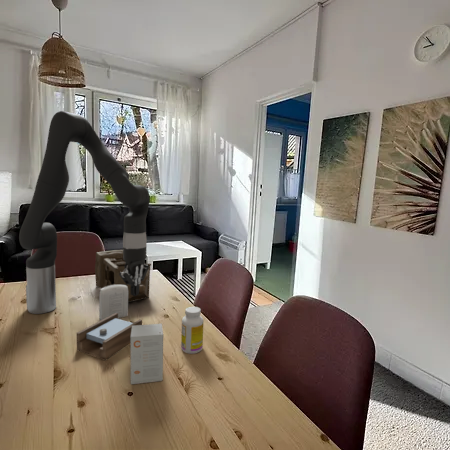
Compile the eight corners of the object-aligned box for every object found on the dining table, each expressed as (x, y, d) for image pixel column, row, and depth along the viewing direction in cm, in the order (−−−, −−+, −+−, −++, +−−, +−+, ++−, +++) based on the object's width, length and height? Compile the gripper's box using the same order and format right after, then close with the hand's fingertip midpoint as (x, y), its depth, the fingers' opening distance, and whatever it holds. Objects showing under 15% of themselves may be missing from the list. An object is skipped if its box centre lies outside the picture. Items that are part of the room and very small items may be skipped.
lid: (86, 338, 92) (86, 330, 92) (115, 322, 103) (115, 315, 103) (107, 345, 89) (107, 337, 88) (135, 328, 100) (135, 320, 99)
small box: (161, 366, 85) (162, 322, 83) (162, 381, 79) (163, 334, 77) (131, 369, 83) (131, 324, 81) (130, 385, 77) (130, 336, 75)
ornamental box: (159, 311, 126) (166, 268, 125) (117, 316, 115) (124, 268, 114) (127, 284, 153) (133, 249, 152) (91, 286, 142) (96, 247, 140)
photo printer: (126, 312, 118) (126, 281, 116) (129, 316, 115) (129, 285, 113) (98, 317, 112) (97, 285, 111) (100, 322, 109) (100, 289, 107)
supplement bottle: (205, 345, 97) (207, 307, 95) (197, 356, 91) (198, 315, 89) (186, 341, 99) (188, 303, 97) (177, 351, 93) (178, 311, 91)
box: (76, 350, 91) (76, 332, 90) (115, 327, 106) (115, 312, 105) (105, 360, 87) (105, 342, 86) (141, 335, 101) (142, 320, 100)
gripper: (138, 240, 109) (138, 287, 112) (111, 247, 97) (112, 299, 100) (156, 243, 106) (155, 290, 109) (130, 250, 94) (130, 303, 97)
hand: (134, 294), depth 104 cm, fingers closed
